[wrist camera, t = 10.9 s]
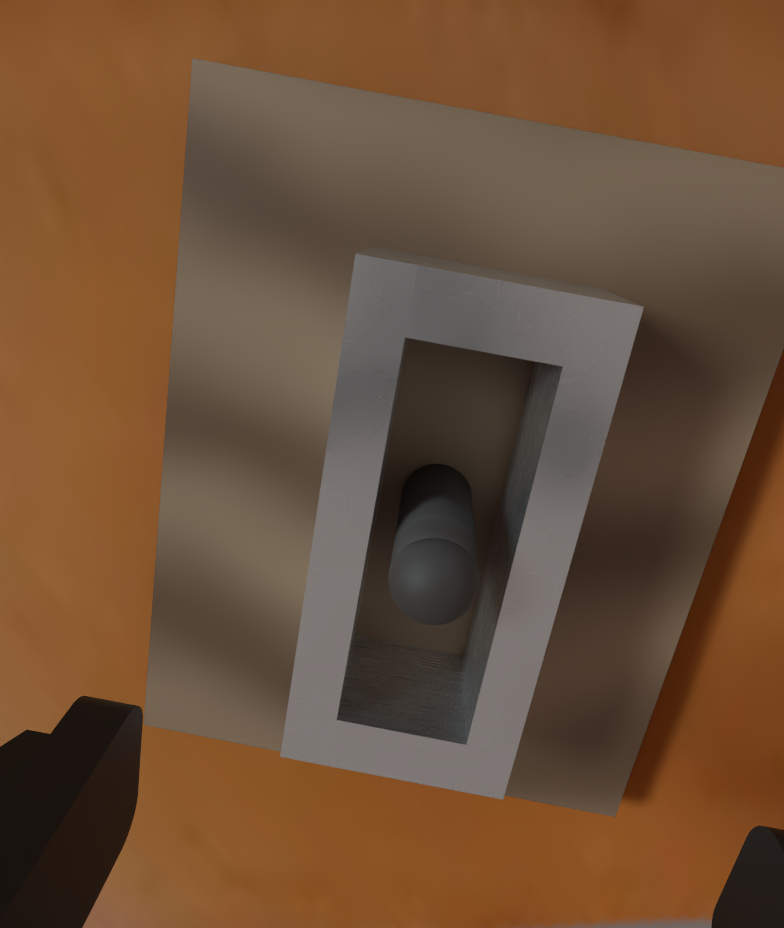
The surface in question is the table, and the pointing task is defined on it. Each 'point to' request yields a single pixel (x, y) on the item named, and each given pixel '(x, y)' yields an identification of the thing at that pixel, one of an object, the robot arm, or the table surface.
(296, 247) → the keeper plate
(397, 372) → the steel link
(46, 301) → the table surface
